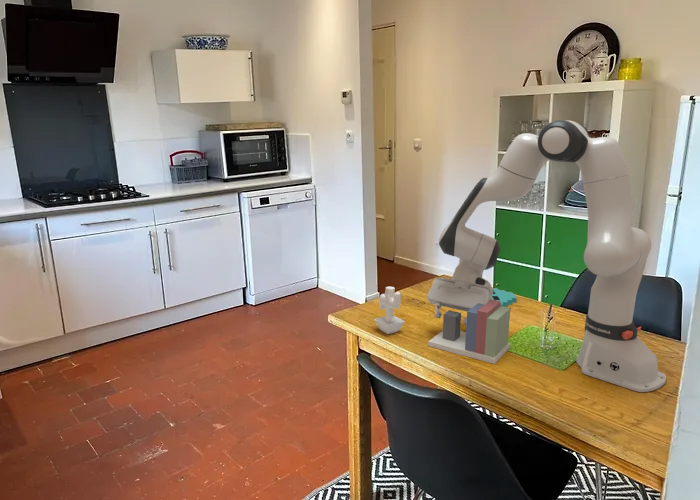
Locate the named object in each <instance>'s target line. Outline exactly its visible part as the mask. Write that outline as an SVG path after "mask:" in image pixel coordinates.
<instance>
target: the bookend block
mask: <svg viewBox="0 0 700 500" xmlns="http://www.w3.org/2000/svg"><path fill="white" fill-rule="evenodd" d="M442 317H443V319H442V320H443V321H442V331H443V339H447V340H451V341H456V340H457V339H458V338H459V337H460V331H461V323H462V321H461V320H462V312H460V311H459V312H458V311H454V310H450V309H449V310H448V311H446V312H444V313H443V316H442Z"/></svg>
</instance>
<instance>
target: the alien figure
mask: <svg viewBox="0 0 700 500" xmlns="http://www.w3.org/2000/svg"><path fill="white" fill-rule="evenodd" d="M492 288H493V294H492V296H491V297H492V300H496V301H501V306H502V307H507V308H509V305H513V304H515V303H517V302H518V301H517V299H518V297H517V296H516V295H515V294H514V293H513V292H512V291H506V290H505V289H499V288H497V287H495V288H494V287H492Z"/></svg>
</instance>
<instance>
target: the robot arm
mask: <svg viewBox="0 0 700 500" xmlns="http://www.w3.org/2000/svg"><path fill="white" fill-rule="evenodd" d="M548 161H553V162H558V163H559V162H560V163H575V164H576V165H577V166H578V168H579V170H580V174H581V179H582V183H583V184H582V185H583V190H584V196H585V203H586V207H587V237H586V238H587V239H586V240H587V242H586V246H585V250H584V253H583V260H584V264H585V266H586V267H587V269H588V271H590V272H591V273H592V274H594V275H595V276H596V278H595V280H594V283H593V284H592V286H591V288H590V294H589V295H590V297H589V303H588V304H589V305H588V312H587V314H586V316H585V322H584V332H585V333H584V336H583V337H584V338H583V340H582V344H581V346H580V350H579V351H578V355H577V357H576V359H575V360H576V363H577V365H578V366H579V367H580V371H581V373H582V374H583V375H586V376H589V377H592V378H594V379H598V380H601V381H604V382H607V383H611V384H612V385H616V386H619V387H621V388H625V389H628V390H631V391H635V392H638V393H646V392H652V391H655V390H658V389H660V388H661V387H662V386H664V385H665V384H666V382H667V375H666V374H665V373H664V372H662V371H660V370H659V364H658V363H659V362H658V358H657V355H656V354H655V353H654V352H653V351H652V350H651V349H650V348H649V347H648V346H647V345H646V344H645V343H644V342H643V341H642V340H641V339H640V338H639V337H638V332H641V331H642V326H639V327H636V325H635V323H634V320H633V318H634V317H633V316H634V312H635V306H636V299H637V294H638V290H639V287H640V284H641V281H642V279H643V275H644V271H645V267H646V264H647V259H648V256H649V255H650V252H651V250H652V240H651V238H650V236H649V234H648V233H647V232H646V231H644V230H643V229H641V228H639V227H634V226H632V217H633V216H632V215H633V210H634V205H635V202H634V197H633V191H632V187H631V186H632V185H631V180H630V174H629V169H628V165H627V161H626V158H625V155H624V153H623V149H622V148H621V145H620V144H619V141H617V140H616V139H615V138H613V137H610V136H609V137H608V136H599V137H595V138H593V137H591V135H590V132H589V131H588V129H587V128H586V126H583V124H580V123H578V122H576V121H573V120H570V119H569V120H568V119H557V120H554V121H551V122H549V123H548V124H546V125H544V127H542V129H540V132H539V133H538V135H537V134H534V133H528V132H527V133H519V134H518V135H517V136H516V137H514V139H513V140H512V142H511V143H510V144H509V146H508V148H507V149H506V151H505V153H504V155H503V157H502V159H501V161H500V163H499V164H498V166H497V169H496V170H495V171H494V172H493V173H492V174H491V175H489V176H488V177H482V178H481V179H479V181H478V182H477V183H476V184H475V186H474V187H473V189H472V190H471V191H470V193H469V194H468V195H467V197H466V198H465V200H464V201H463V203H462V204H461V206H460V208H459V209H458V210H457V212H456V213H455V214H454V217H453V218H452V219H451V220H450V222H449V223H447V225H446V226H445V228H443V230H442V231H441V234H440V236H439V238H438V246H439V247H440V249H441V250H442V252H443V254H445V255H448V256H450V257H455V258H458V259H459V260H458V261H459V262H458V265H457V266H455V269H454V271H453V274H452V277H451V278H448V277H447V278H444V277H441V276H439V277H437V278H434V280H433V282H432V284H431V287H430V288H429V290H428V292H427V295H426V299H427V300H428V303H429V304H431V305H434V308H435V313H434V318H436V319H439V320H440V319H441V317H442V315H443V314H442V312H441V311H440V310H441V308H442V307H444V308H448V309H453V310H457V311H463V312H466V313H467V311H469V310H470V309H471V308H473V307H474V306H475V305H476V304H478V303H480V304H484V305H485V304H486V303H487V302H489V301H490V300H492V297H491V296H492V294H493V288H494V287H493V286H492V284H491V283H490V281H489V280H487V279H485V278H483V274H484V271H488V270H490V269H491V268H493V267H495V265H496V264H497V260H498V258H499V255H500V252H501V249H502V248H501V244H500V243H499V241H498V240H497V239H496V238H494V237H492V236H489V235H487V234H484V233H481V232H478V231H477V230H474V229H471V228H469V227H467V226H466V224H467V222H468V220H469V219H470V217H471V216H472V215H473V213H474V212H475V211H476V210H477V208H478V207H479V205H481V204H483V203H486V202H513V201H517V200H521V199H522V198H524V197H525V196H526V195H528V193H529V192H530V191H531V189H532V187H533V185H534V184H535V182H536V180H537V177H538V175H539V173H540V171H541V169H542V168H543V166H544V165H545V164H546V163H547V162H548ZM466 323H467V316H466V317H465V316H464V317H463V321H462V324H463V325H465V326H466Z"/></svg>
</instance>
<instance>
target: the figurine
mask: <svg viewBox="0 0 700 500" xmlns="http://www.w3.org/2000/svg"><path fill="white" fill-rule="evenodd" d="M395 289H396V288H395V287H394V286H385V291H384V293H382V294H380V295H379V302H378V304H379V310H382V311H383V310H385V311H384V315H385V316H384V315H383V316H379V317H375V318H374V319H373V320H374V322H375V323H376V326H377V327H378V328H379V331H381V332H383V333H385V334H387V335H389V334H393V333H398V332H399V331H400V330H401V329H402V327H403V325H404V323H405V322H406V321H405V320H403V319H402V318H399V317H397V316H396V315H395V309H396V310H399V309H400V307H401V304H402V303H401V299H402V298H401V297H402V295H401V292H400V291H396V292H395Z"/></svg>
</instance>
